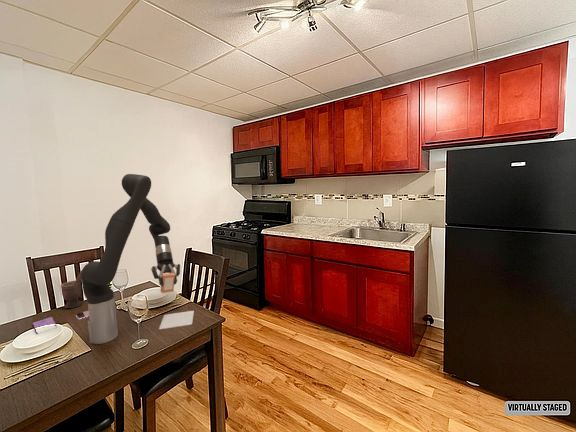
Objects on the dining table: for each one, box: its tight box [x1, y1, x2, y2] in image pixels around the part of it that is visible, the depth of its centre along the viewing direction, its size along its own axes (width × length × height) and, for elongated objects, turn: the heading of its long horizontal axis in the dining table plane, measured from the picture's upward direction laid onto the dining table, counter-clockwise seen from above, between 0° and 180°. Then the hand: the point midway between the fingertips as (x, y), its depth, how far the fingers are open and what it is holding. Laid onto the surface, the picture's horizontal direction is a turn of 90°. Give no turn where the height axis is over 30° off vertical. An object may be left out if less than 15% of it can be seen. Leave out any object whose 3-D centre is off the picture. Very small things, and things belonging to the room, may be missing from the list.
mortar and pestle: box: [60, 268, 83, 309], centre depth 147 cm, size 12×9×20 cm
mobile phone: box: [75, 310, 89, 320], centre depth 139 cm, size 8×1×15 cm
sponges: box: [32, 316, 56, 329], centre depth 126 cm, size 7×13×2 cm, turn 49°
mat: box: [158, 310, 195, 331], centre depth 129 cm, size 14×14×1 cm
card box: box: [160, 273, 175, 294], centre depth 135 cm, size 3×6×9 cm, turn 129°
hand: (168, 284), depth 134 cm, fingers closed on card box, 5 cm apart
